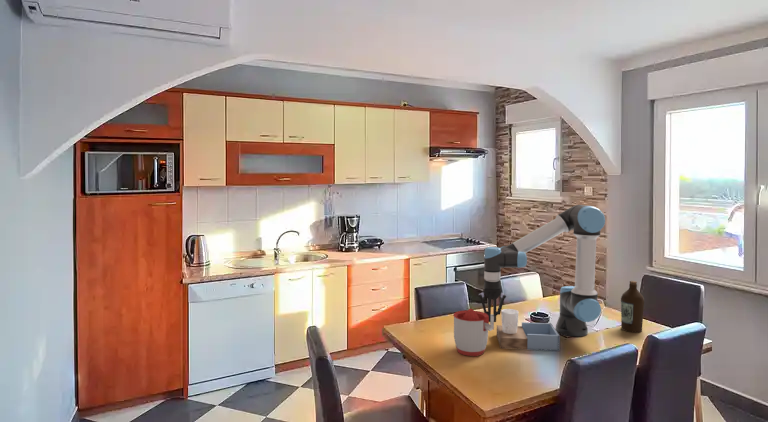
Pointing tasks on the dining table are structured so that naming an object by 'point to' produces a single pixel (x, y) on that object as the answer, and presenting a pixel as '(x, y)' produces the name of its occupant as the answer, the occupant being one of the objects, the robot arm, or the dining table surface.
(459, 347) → the citrus juicer
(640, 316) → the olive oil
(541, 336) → the box
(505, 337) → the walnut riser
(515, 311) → the white cup
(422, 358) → the dining table surface
